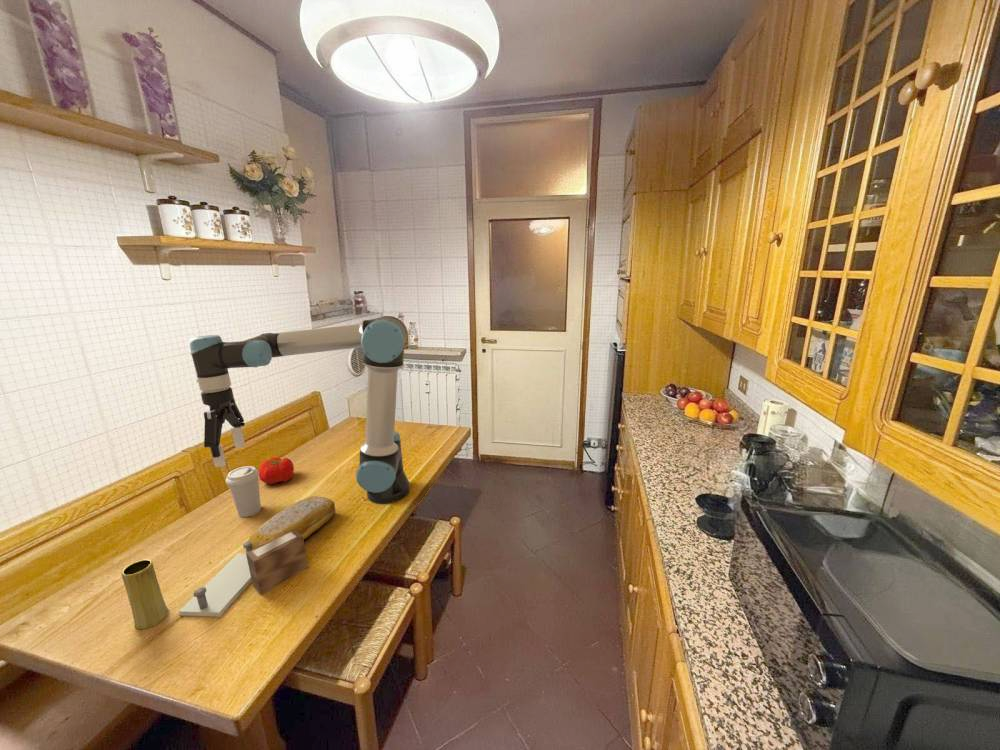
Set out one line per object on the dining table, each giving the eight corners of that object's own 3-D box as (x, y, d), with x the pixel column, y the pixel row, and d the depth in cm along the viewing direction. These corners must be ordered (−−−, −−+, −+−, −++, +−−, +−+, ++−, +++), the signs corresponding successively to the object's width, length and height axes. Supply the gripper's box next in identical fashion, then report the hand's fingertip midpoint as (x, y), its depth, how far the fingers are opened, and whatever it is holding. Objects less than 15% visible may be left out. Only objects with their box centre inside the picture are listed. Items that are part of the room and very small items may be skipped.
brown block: (299, 560, 112) (293, 528, 109) (308, 567, 109) (302, 535, 106) (253, 586, 103) (245, 552, 100) (261, 595, 100) (253, 560, 97)
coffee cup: (250, 521, 130) (242, 480, 126) (226, 518, 132) (216, 477, 128) (272, 505, 139) (264, 465, 136) (249, 502, 141) (241, 464, 137)
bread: (241, 560, 112) (236, 535, 110) (308, 507, 137) (305, 487, 135) (280, 568, 109) (275, 543, 107) (342, 513, 133) (339, 491, 131)
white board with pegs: (272, 557, 113) (268, 540, 112) (220, 616, 94) (215, 596, 92) (238, 556, 114) (234, 539, 112) (179, 615, 94) (174, 595, 93)
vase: (148, 608, 97) (133, 558, 93) (175, 606, 97) (161, 556, 93) (127, 630, 91) (110, 578, 87) (156, 628, 91) (140, 575, 88)
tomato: (252, 485, 153) (248, 465, 151) (280, 470, 164) (277, 451, 162) (276, 491, 148) (272, 470, 146) (303, 475, 159) (300, 456, 157)
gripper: (221, 379, 127) (235, 441, 132) (177, 403, 103) (195, 477, 109) (247, 377, 128) (259, 438, 134) (209, 400, 105) (226, 473, 110)
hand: (231, 456), depth 121 cm, fingers open, 13 cm apart
